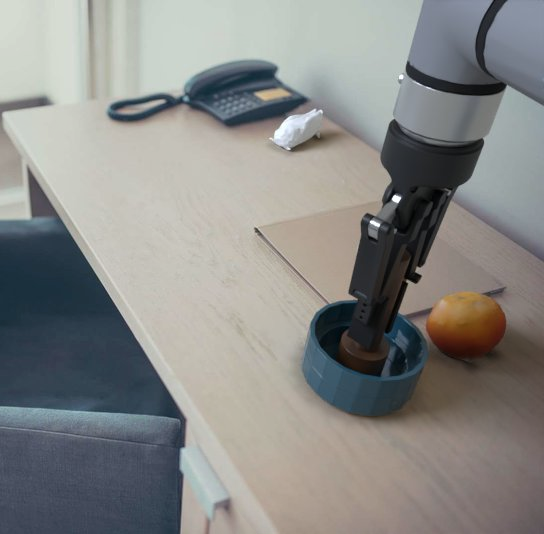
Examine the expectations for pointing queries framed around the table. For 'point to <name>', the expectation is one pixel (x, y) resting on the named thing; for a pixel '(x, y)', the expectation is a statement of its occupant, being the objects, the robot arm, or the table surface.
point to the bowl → (355, 386)
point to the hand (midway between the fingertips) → (369, 332)
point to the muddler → (376, 357)
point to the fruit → (466, 325)
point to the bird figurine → (298, 129)
